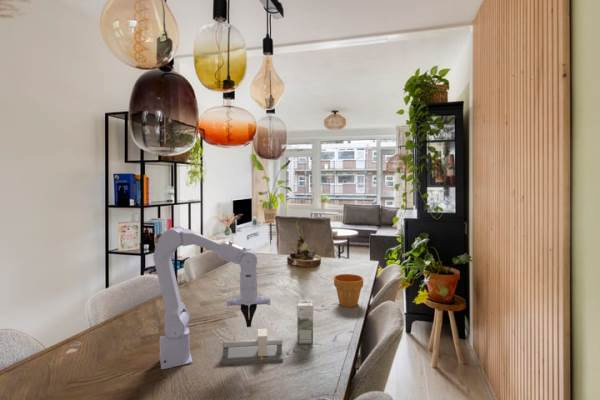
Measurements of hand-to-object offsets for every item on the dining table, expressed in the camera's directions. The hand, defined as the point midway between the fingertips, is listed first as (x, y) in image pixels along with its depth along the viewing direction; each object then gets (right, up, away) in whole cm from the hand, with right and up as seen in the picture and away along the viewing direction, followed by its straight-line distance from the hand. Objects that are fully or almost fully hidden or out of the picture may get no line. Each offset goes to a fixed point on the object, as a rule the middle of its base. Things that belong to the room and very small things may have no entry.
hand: (249, 325), depth 112 cm
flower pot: (+41, -9, +50) cm, 65 cm away
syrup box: (+19, -10, +11) cm, 24 cm away
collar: (+5, -9, 0) cm, 10 cm away
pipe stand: (+1, -10, 0) cm, 10 cm away
